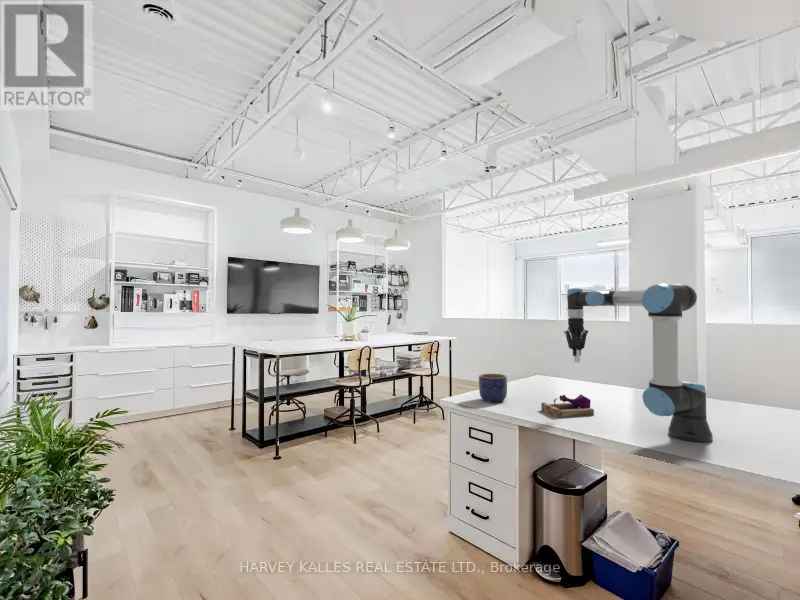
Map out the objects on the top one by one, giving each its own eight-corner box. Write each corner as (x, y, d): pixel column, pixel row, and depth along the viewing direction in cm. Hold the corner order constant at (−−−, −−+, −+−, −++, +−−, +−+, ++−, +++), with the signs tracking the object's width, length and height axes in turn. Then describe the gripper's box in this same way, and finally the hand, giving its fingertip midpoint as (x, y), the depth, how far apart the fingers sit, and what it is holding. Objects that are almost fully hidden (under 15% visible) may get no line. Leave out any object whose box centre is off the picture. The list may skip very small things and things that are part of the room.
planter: (490, 396, 246) (490, 372, 247) (513, 400, 234) (512, 375, 234) (473, 400, 236) (473, 375, 236) (496, 405, 223) (495, 379, 223)
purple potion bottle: (586, 394, 212) (552, 392, 214) (591, 397, 205) (556, 395, 207) (586, 408, 212) (551, 406, 214) (591, 411, 205) (555, 409, 207)
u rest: (593, 415, 200) (593, 407, 200) (557, 417, 197) (556, 409, 197) (576, 407, 215) (575, 400, 215) (541, 410, 211) (541, 402, 211)
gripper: (582, 317, 212) (583, 360, 212) (560, 317, 210) (561, 361, 210) (591, 317, 205) (592, 362, 204) (568, 318, 203) (569, 363, 202)
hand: (577, 362), depth 207 cm, fingers closed
